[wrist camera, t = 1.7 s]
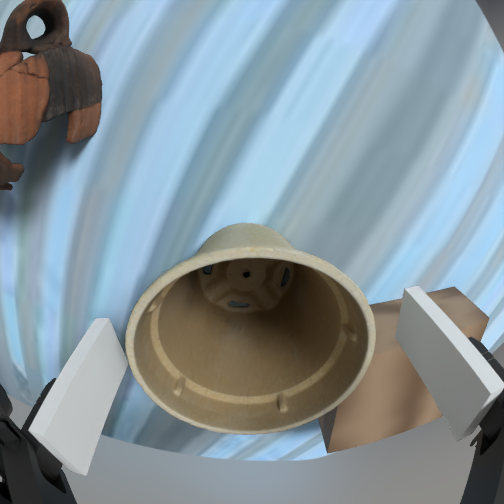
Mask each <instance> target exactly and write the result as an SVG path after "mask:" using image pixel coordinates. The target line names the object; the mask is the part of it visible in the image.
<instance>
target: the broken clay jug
mask: <svg viewBox="0 0 504 504" xmlns="http://www.w3.org/2000/svg"><path fill="white" fill-rule="evenodd" d="M34 15H36V16H38V17H40V18H41V19H42V20H43V22H44V24H45V32H44V34H43V35H42V36H40V37H38V38H35V39H31V38H30V35H29V34H28V32H27V29H26V24H27V21H28V19H29V18H30V17H32V16H34ZM71 45H72V42H71V41H70V39H69V18H68V13H67V10H66V7H65V5H64V3H63V2H62V0H25V1H23V2H22V3H21V4H19V5H18V6H17V7H16V8H15V9H14V10H13V11H12V13H11V14H10V16H9V18H8V20H7V22H6V25H5V28H4V32H3V36H2V39H1V42H0V144H15V145H24V144H25V143H26V142H28V141H30V140H31V139H32V138H33V137H34V136H35V135H36V134H37V132H38V130H39V128H40V125H41V123H42V122H47V121H49V120H51V119H53V118H55V117H57V116H59V115H62V114H64V113H68V129H67V137H66V140H67V142H68V143H76V142H78V141H80V140H81V139H84V138H87V137H89V136H92V135H94V134H95V133H96V130H97V127H98V124H99V119H100V114H101V100H102V81H101V76H100V71H99V67H98V65H97V64H96V62H95V61H94V59H93V58H92V57H91V56H90V55H88V54H84V53H82V52H80V51H79V50H77V49H73V48H72V47H71ZM21 52H28V53H31V54H36V55H34V56H30V57H28V58H26V59H25V60H23V54H22V53H21ZM23 172H24V166H23V165H22V164H17V163H11V161H10V160H8V159H7V158H6V157H4V155H3V154H2V153H1V152H0V190H9V191H10V190H12V188H13V186H12V185H11V184H9V182H16V181H18V180H19V179H20V177H21V175H22V174H23Z"/></svg>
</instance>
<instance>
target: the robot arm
mask: <svg viewBox="0 0 504 504" xmlns="http://www.w3.org/2000/svg"><path fill="white" fill-rule="evenodd" d="M395 338H396V339H397V341H398V342H399V344H400V346H401V347H402V349H403V350H404V352H405V353H406V355H407V356H408V358H409V360H410V361H411V363H412V364H413V366H414V368H415V369H416V371H417V373H418V374H419V376H420V377H421V379H422V381H423V382H424V384H425V386H426V387H427V389H428V391H429V392H430V394H431V396H432V398H433V399H434V401H435V403H436V405H437V406H438V408H439V410H440V412H441V413H442V415H443V417H444V419H445V420H446V422H447V424H448V426H449V428H450V430H451V432H452V433H453V435H454V437H455V439H456V441H459V440H461V439H463V438H465V437H467V436H468V435H470V434H472V433H473V432H474V430H475V429H476V428H477V426H478V425H480V427H481V429H482V430H481V431H480V432H479V433H478V435H477V436H476V437H475V438H474V439H473V441H472V442H471V444H470V446H473V445H474V444H475V442H476V441H477V440H478V441H477V445H476V446H475V447H476V450H475V454H474V459H473V463H472V467H471V470H470V474H469V478H468V481H467V484H466V488H465V490H464V494H463V496H462V499H461V502H460V504H504V369H503V367H502V366H501V365H500V364H499V363H498V362H497V360H496V359H494V357H493V355H492V354H491V353H490V352H488V350H487V349H486V347H485V346H484V345H483V344H482V343H481V342H480V341H478V340H476V339H475V338H473V337H468V338H467V337H466V336H465V335H464V334H463V333H462V332H461V331H460V329H459V328H458V327H457V326H456V325H455V324H454V323H453V322H452V321H451V320H450V318H449V317H448V316H447V315H446V314H445V313H444V312H443V311H442V310H441V309H440V308H439V307H438V306H437V305H436V304H435V303H434V302H433V301H432V299H431V298H430V297H429V296H428V295H427V294H426V293H425V292H424V291H423V290H422V289H421V288H420V287H419V286H414V287H409V288H404V293H403V299H402V304H401V310H400V315H399V320H398V324H397V329H396V333H395ZM128 364H129V363H128V360H127V358H126V356H125V354H124V352H123V350H122V347H121V345H120V343H119V340H118V338H117V336H116V333H115V331H114V329H113V326H112V324H111V321H110V319H109V318H96V319H95V320H94V322H93V323H92V325H91V326H90V328H89V329H88V330H87V332H86V333H85V335H84V336H83V338H82V339H81V341H80V343H79V344H78V346H77V347H76V349H75V350H74V352H73V353H72V355H71V357H70V358H69V360H68V361H67V363H66V364H65V366H64V368H63V369H62V371H61V373H60V374H59V376H58V378H57V379H56V378H54V379H53V380H52V381H50V382H49V383H48V384H47V385H46V386H45V388H44V390H43V391H42V393H41V397H39V398H38V400H37V402H36V404H35V405H34V407H33V409H32V411H31V412H30V414H29V416H28V418H27V420H26V422H25V424H24V425H23V427H22V429H21V430H20V429H19V428H18V427H17V426H16V425H15V424H14V423H13V421H12V420H11V419H10V418H9V416H10V414H11V412H12V410H13V409H12V404H11V402H10V400H9V398H8V396H7V394H6V393H5V391H4V390H3V388H2V387H1V386H0V476H1V477H2V482H0V504H77V502H76V500H75V498H74V496H73V493H72V491H71V488H70V486H69V484H68V481H67V478H66V476H65V474H64V472H63V470H62V469H61V467H62V464H63V465H65V466H66V467H67V468H68V469H69V470H70V471H72V472H75V473H78V474H81V475H85V476H87V473H88V469H89V467H90V464H91V461H92V458H93V455H94V452H95V449H96V446H97V443H98V440H99V438H100V435H101V432H102V429H103V427H104V424H105V421H106V418H107V416H108V413H109V411H110V408H111V405H112V403H113V400H114V398H115V395H116V393H117V390H118V388H119V385H120V383H121V380H122V378H123V376H124V373H125V371H126V368H127V366H128Z"/></svg>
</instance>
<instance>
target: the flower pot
mask: <svg viewBox="0 0 504 504" xmlns="http://www.w3.org/2000/svg"><path fill="white" fill-rule="evenodd" d="M211 264H212V267H211V274H205V273H204V271H203V267H204V266H208V265H211ZM286 268H288V269H289V272H290V276H289V280H288V282H287V283H286V284H285V285H284V286H281V282H282V279H283V275H284V270H285V269H286ZM244 272H249V273H250V276H248V277H244V276H243V273H244ZM231 301H237V302H240V303H248V304H249V306H244V307H236V306H232V305H229V303H230V302H231ZM125 341H126V342H125V347H126V354H127V359H128V362H129V365H130V368H131V370H132V373H133V375H134V377H135V379H136V380H137V382H138V383H139V384H140V385H141V386H142V388H143V390H144V392H145V393H146V394H147V395H148V396H149V397H150V398H151V399H152V401H153V402H155V403H156V404H157V405H158V406H160V407H161V408H162V409H164V410H165V411H166V412H168V413H169V414H171V415H173V416H174V417H176V418H178V419H180V420H182V421H185V422H187V423H189V424H191V425H194V426H197V427H200V428H205V429H207V430H211V431H215V432H221V433H229V434H243V435H249V434H250V435H253V434H267V433H274V432H280V431H284V430H288V429H291V428H294V427H297V426H300V425H304V424H306V423H309V422H310V421H313V420H315V419H317V418H319V417H320V416H322V415H324V414H326V413H327V412H329V411H331V410H332V409H334V408H335V407H336V406H338V405H339V404H340V403H341V402H342V401H343V400H345V399H346V398H347V397H348V396H349V395H350V394H351V393H352V392H353V391H354V390H355V388H356V387H357V385H358V384H359V383H360V381H361V380H362V378H364V375H365V373H366V371H367V369H368V367H369V365H370V362H371V359H372V356H373V353H374V349H375V341H376V328H375V322H374V316H373V313H372V310H371V308H370V306H369V303H368V301H367V300H366V298H365V296H364V294H363V293H362V292H361V290H360V289H359V288H358V287H357V285H356V284H355V283H354V282H353V281H352V280H351V279H350V278H349V277H348V276H346V275H345V274H344V273H343V272H341V271H340V270H339V269H337V268H336V267H334V266H333V265H331V264H330V263H328V262H326V261H324V260H322V259H320V258H318V257H315V256H313V255H310V254H308V253H305V252H302V251H298V250H296V249H295V248H293V247H292V246H291V245H290V243H289V242H288V241H287V240H286V239H285V238H284V237H283V236H282V235H280V234H279V233H278V232H276V231H274V230H273V229H271V228H268V227H266V226H263V225H259V224H254V223H239V224H234V225H230V226H227V227H225V228H223V229H221V230H219V231H218V232H216V233H214V234H213V235H212V236H211V237H209V238H208V239H207V240H206V242H205V243H204V244H203V246H202V247H201V248H200V250H199V251H198V252H197V253H196V255H195V256H194V257H192V258H190V259H187V260H185V261H183V262H182V263H179V264H178V265H176V266H174V267H172V268H171V269H170V270H168V271H167V272H165V273H164V274H162V275H161V276H160V277H159V278H158V279H156V280H155V281H154V282H153V283H152V284H151V285H150V286H149V287H148V288H147V290H146V291H145V292H144V293H143V295H142V296H141V297H140V299H139V300H138V302H137V304H136V305H135V307H134V309H133V310H132V313H131V316H130V318H129V322H128V325H127V331H126V339H125Z"/></svg>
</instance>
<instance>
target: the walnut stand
mask: <svg viewBox="0 0 504 504" xmlns="http://www.w3.org/2000/svg"><path fill="white" fill-rule="evenodd" d="M426 294H427V295H428V296H429V297H430V298H431V299H432V301H433V302H434V303H435V304H436V305H437V306H438V307H439V308H440V309H441V310H442V311H443V312H444V313H445V314H446V315H447V316H448V317H449V318H450V320H451V321H452V322H453V323H454V324H455V325H456V326H457V327H458V328H459V329H460V331H461V332H462V333H463V334H464V335H465V336H466V337H467V338H468V337H473V338H475V339H476V340H478V341H481V339H482V336H483V334H484V331H485V329H486V326H487V323H488V320H489V317H488V316H487V315H486V314H485V313H484V312H482V311H481V310H480V309H479V308H478V307H477V306H476V305H475V304H474V303H473V302H471V301H470V300H469V299H468V298H467V297H466V296H465V295H464V294H462V293H461V292H460V291H459V290H458V289H457V288H455V287H451V288H447V289H442V290H438V291H434V292H430V293H426ZM402 299H403V298H402ZM402 299H397V300H393V301H388V302H382V303H377V304H372V305H369V306H370V308H371V310H372V313H373V316H374V322H375V328H376V341H375V349H374V353H373V356H372V359H371V362H370V365H369V367H368V369H367V371H366V373H365V375H364V378H362V380H361V381H360V383H359V384H358V385H357V387H356V388H355V390H354V391H353V392H352V393H351V394H350V395H349V396H348V397H347V398H346V399H345V400H343V401H342V402H341V403H340V404H339V405H338V406H336V407H335V408H334V409H332V410H331V411H329V412H327V413H326V414H324V415H322V416H320V417H319V418H318V419H319V423H320V427H321V431H322V435H323V439H324V443H325V447H326V451H327V453H332V452H336V451H341V450H345V449H349V448H353V447H357V446H360V445H364V444H368V443H371V442H374V441H378V440H381V439H384V438H387V437H390V436H393V435H396V434H399V433H402V432H405V431H407V430H410V429H412V428H415V427H418V426H420V425H423V424H425V423H428V422H430V421H432V420H435V419H437V418H439V417H442V416H443V415H442V413H441V412H440V410H439V408H438V406H437V405H436V403H435V401H434V399H433V398H432V396H431V394H430V392H429V391H428V389H427V387H426V386H425V384H424V382H423V381H422V379H421V377H420V376H419V374H418V373H417V371H416V369H415V368H414V366H413V364H412V363H411V361H410V360H409V358H408V356H407V355H406V353H405V352H404V350H403V349H402V347H401V346H400V344H399V342H398V341H397V339H396V338H395V333H396V329H397V324H398V320H399V315H400V310H401V304H402Z"/></svg>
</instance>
